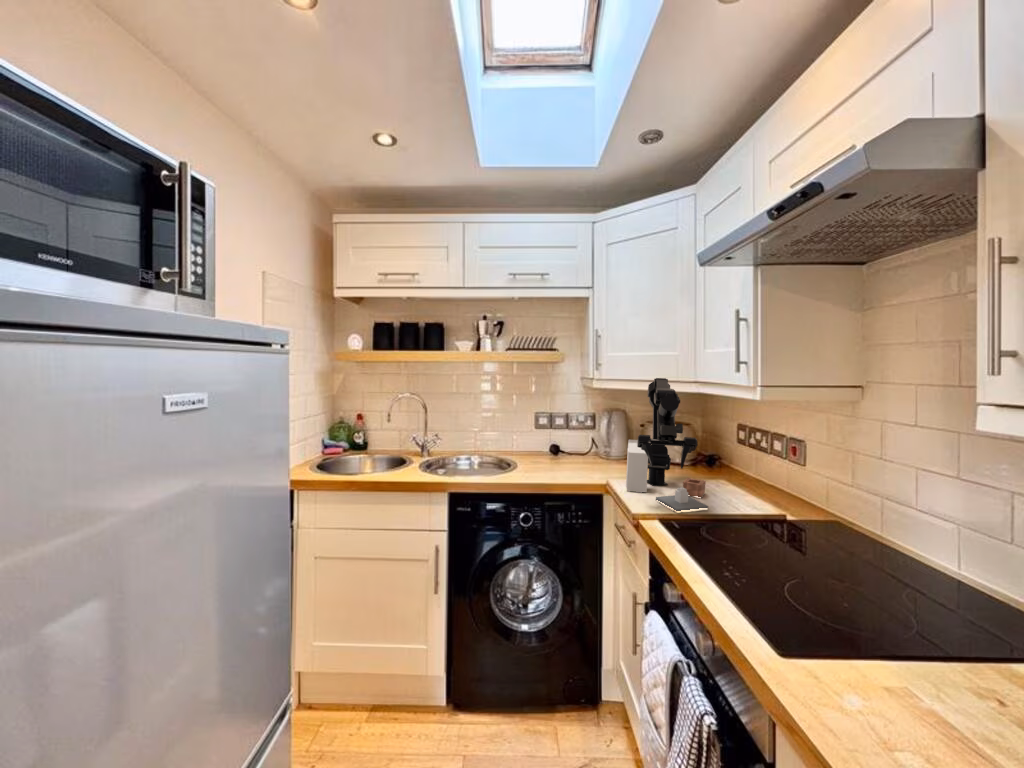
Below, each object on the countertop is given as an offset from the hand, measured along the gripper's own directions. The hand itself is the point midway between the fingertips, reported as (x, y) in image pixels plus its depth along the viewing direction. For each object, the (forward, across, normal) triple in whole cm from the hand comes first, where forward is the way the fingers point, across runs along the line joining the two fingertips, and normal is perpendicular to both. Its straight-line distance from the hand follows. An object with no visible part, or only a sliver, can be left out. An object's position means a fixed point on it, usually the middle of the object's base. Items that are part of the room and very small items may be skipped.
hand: (667, 467), depth 150 cm
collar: (+1, +12, +26) cm, 28 cm away
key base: (+9, +6, +14) cm, 18 cm away
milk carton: (+1, -8, +26) cm, 27 cm away
